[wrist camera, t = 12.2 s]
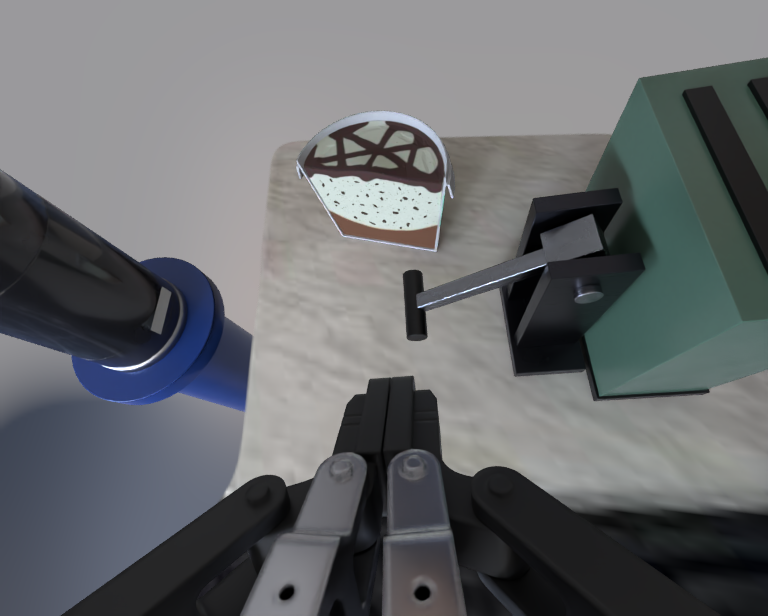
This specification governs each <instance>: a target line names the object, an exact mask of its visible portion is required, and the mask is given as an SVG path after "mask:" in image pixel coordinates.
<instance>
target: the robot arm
mask: <svg viewBox="0 0 768 616" xmlns="http://www.w3.org/2000/svg"><path fill="white" fill-rule="evenodd" d="M186 320H187V303H186V300H185V297H184V295H183V294H182V292H181V291H180V290H179V289H178V288H177V287H176V286H175V285H173V284H172V283H170V282H169V281H167V280H166V279H164V278H161V277H159V276H158V275H157V274H155V273H154V272H152V271H151V270H149V269H148V268H147V267H145V266H144V265H142V264H141V263H139V262H137V261H136V260H135V259H133V258H132V257H130V256H129V255H127V254H126V253H124V252H123V251H121V250H120V249H118V248H117V247H115V246H114V245H112V244H111V243H109V242H108V241H107V240H105V239H104V238H102V237H101V236H99V235H98V234H96V233H95V232H93V231H92V230H90V229H89V228H87V227H86V226H84V225H83V224H81V223H80V222H78V221H77V220H75V219H74V218H72V217H71V216H69V215H68V214H66V213H65V212H63V211H62V210H61V209H59V208H58V207H56V206H55V205H53V204H52V203H50V202H49V201H47V200H45V199H44V198H43V197H41V196H40V195H38V194H36V193H35V192H33V191H32V190H30V189H29V188H27V187H26V186H25V185H23V184H22V183H20V182H19V181H17V180H16V179H14V178H13V177H11V176H10V175H8V174H7V173H5V172H4V171H2V170H1V169H0V333H2V334H5V335H8V336H11V337H15V338H18V339H21V340H24V341H27V342H31V343H34V344H37V345H41V346H44V347H47V348H50V349H53V350H56V351H59V352H63V353H66V354H69V355H72V356H75V357H79V358H81V359H84V360H88V361H91V362H94V363H97V364H100V365H102V366H104V367H107V368H110V369H113V370H116V371H120V372H136V371H140V370H143V369H146V368H148V367H150V366H152V365H154V364H156V363H157V362H159V361H160V360H161V359H163V358H164V357H165V356H166V355H167V354H168V353H169V352H170V351H171V350H172V349H173V348H174V346H175V345H176V343H177V342H178V340H179V339H180V337H181V335H182V333H183V331H184V328H185V325H186ZM382 516H387V534H386V535H384V541H383V602H382V616H467V615H466V609H465V603H464V597H463V591H462V585H461V579H460V573H459V567H458V565H460V566H463V567H466V568H469V569H472V570H475V571H477V572H478V575H479V577H480V579H481V581H482V582H483V583H484V584H485V586H486V587H487V588H488V589H489V590H490V591H491V592H492V593H493V594H494V595H495V596H496V597H497V599H498V600H499V601H500V602H501V603H502V604H503V605H504V606H505V607H506V608H507V609H508V610H509V611H510V613H511V614H512V615H513V616H721V615H720V614H718V613H717V612H715V611H714V610H712V609H711V608H710V607H708V606H707V605H705V604H704V603H703V602H701V601H700V600H698V599H697V598H695V597H694V596H693V595H691V594H690V593H688V592H687V591H686V590H684V589H683V588H681V587H680V586H678V585H677V584H676V583H674V582H673V581H671V580H670V579H669V578H667V577H666V576H664V575H663V574H661V573H660V572H659V571H657V570H656V569H654V568H653V567H652V566H650V565H649V564H647V563H646V562H645V561H643V560H642V559H640V558H639V557H637V556H636V555H635V554H633V553H632V552H630V551H629V550H628V549H626V548H625V547H623V546H622V545H620V544H619V543H618V542H616V541H615V540H613V539H612V538H611V537H609V536H608V535H606V534H605V533H603V532H602V531H601V530H599V529H598V528H596V527H595V526H594V525H592V524H591V523H589V522H588V521H586V520H585V519H584V518H582V517H581V516H579V515H578V514H577V513H575V512H574V511H572V510H571V509H569V508H568V507H567V506H565V505H564V504H562V503H561V502H560V501H558V500H557V499H555V498H554V497H552V496H551V495H550V494H548V493H547V492H545V491H544V490H543V489H541V488H540V487H538V486H537V485H536V484H534V483H533V482H531V481H530V480H528V479H527V478H526V477H524V476H523V475H521V474H520V473H518V472H517V471H515V470H513V469H510V468H507V467H501V466H494V467H488V468H485V469H482V470H480V471H479V472H478V473H476V474H475V476H474V477H471V476H466V475H462V474H459V473H457V472H455V471H453V470H451V469H450V468H449V467H447V466H446V464H445V463H444V462H443V460H442V449H441V435H440V426H439V416H438V407H437V398H436V397H435V396H434V394H433V393H432V392H431V391H430V390H416V389H415V382H414V376H404V377H392V379H391V378H377V379H370V380H369V384H368V388H367V393H366V394H358V395H355V396H354V397H353V398H352V399H351V400H350V401H349V402H348V404H347V405H346V409H345V412H344V417H343V419H342V423H341V427H340V430H339V434H338V437H337V441H336V444H335V448H334V451H333V455H332V456H331V457H329V458H327V459H326V460H325V461H324V462H323V463H322V464H321V465H320V466H319V468H318V469H317V472H316V474H315V476H314V478H312V479H310V480H307V481H304V482H301V483H298V484H295V485H291V486H288V487H286V485H285V482H284V480H283V479H282V478H280V477H278V476H275V475H263V476H260V477H257V478H254V479H252V480H250V481H249V482H247V483H245V484H244V485H243V486H241V487H240V488H238V489H237V490H236V491H234V492H233V493H231V494H230V495H229V496H227V497H226V498H224V499H223V500H222V501H220V502H219V503H217V504H216V505H215V506H213V507H212V508H210V509H209V510H208V511H207V512H205V513H203V514H202V515H201V516H199V517H198V518H197V519H195V520H194V521H192V522H191V523H190V524H188V525H187V526H185V527H184V528H183V529H181V530H180V531H178V532H177V533H176V534H174V535H173V536H171V537H170V538H169V539H167V540H166V541H164V542H163V543H162V544H160V545H159V546H157V547H156V548H155V549H153V550H152V551H151V552H149V553H148V554H146V555H145V556H143V557H142V558H141V559H139V560H138V561H136V562H135V563H134V564H132V565H131V566H129V567H128V568H127V569H125V570H124V571H122V572H121V573H120V574H118V575H117V576H116V577H114V578H113V579H111V580H110V581H108V582H107V583H106V584H104V585H103V586H101V587H100V588H99V589H97V590H96V591H95V592H93V593H92V594H90V595H89V596H87V597H86V598H85V599H83V600H82V601H80V602H79V603H78V604H76V605H75V606H74V607H72V608H71V609H69V610H68V611H66V612H65V613H64V614H62V615H61V616H369V610H370V605H371V599H372V593H373V588H374V582H375V576H376V571H377V565H378V559H379V554H380V548H381V535H380V531H381V523H382ZM247 550H248V553H249V557H248V558H247V559H246V560H245V561H244V562H242V563H241V564H240V565H239V566H238V567H237V568H235V569H234V570H233V571H232V572H231V573H230V574H228V575H227V576H226V577H225V578H224V579H223V580H221V581H220V582H219V583H218V584H217V585H215V586H214V587H213V588H212V589H211V590H210V591H208V592H207V593H206V594H205V595H204V596H202V597H201V598H199V599H197V597H198V595H199V593H200V592H201V590H202V589H203V588H204V587H205V586H206V585H207V584H208V583H209V582H210V581H212V580H213V579H214V578H215V577H216V576H217V575H219V574H220V573H221V572H222V571H223V570H225V569H226V568H227V567H228V566H229V565H231V564H232V563H233V562H234V561H235V560H237V559H238V558H239V557H240V556H241V555H242V554H244V553H245V552H246V551H247Z"/></svg>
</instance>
